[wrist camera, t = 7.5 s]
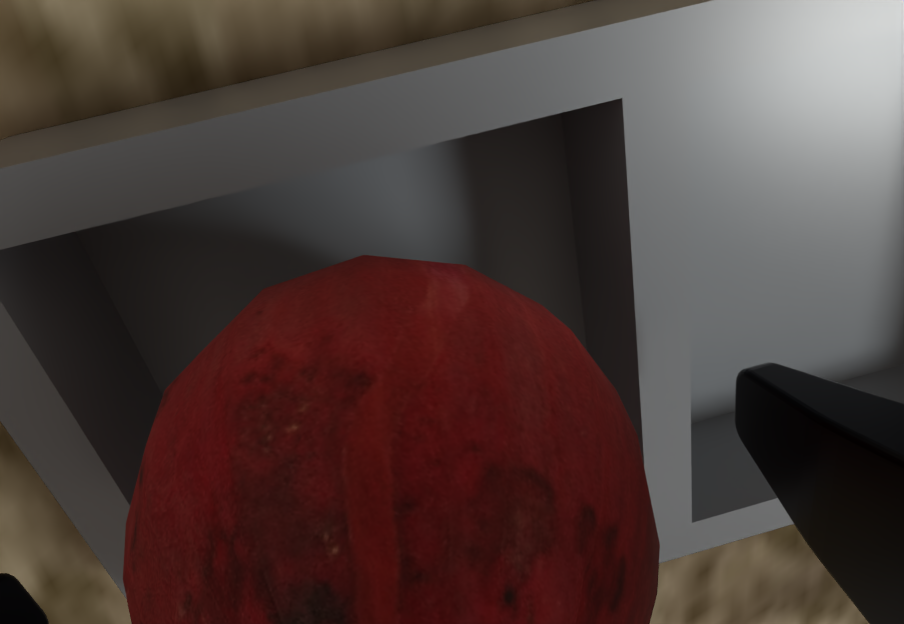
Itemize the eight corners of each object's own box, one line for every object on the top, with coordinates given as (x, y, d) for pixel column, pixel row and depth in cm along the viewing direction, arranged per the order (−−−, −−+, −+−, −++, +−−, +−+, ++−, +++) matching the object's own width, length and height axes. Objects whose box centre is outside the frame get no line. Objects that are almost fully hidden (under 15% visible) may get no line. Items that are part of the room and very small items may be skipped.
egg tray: (1459, -201, 11) (1907, -282, 8) (1243, 257, 15) (1475, 322, 12) (8, 136, 9) (-154, 204, 6) (228, 540, 14) (197, 699, 10)
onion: (139, 262, 9) (-545, 1077, 2) (493, 132, 9) (971, 542, 2) (301, 519, 12) (227, 1257, 5) (576, 419, 12) (909, 1025, 5)
